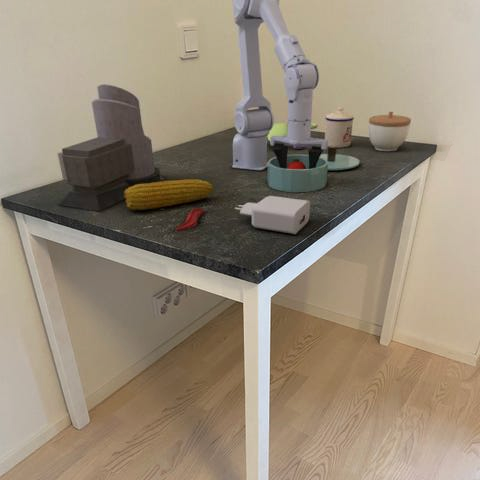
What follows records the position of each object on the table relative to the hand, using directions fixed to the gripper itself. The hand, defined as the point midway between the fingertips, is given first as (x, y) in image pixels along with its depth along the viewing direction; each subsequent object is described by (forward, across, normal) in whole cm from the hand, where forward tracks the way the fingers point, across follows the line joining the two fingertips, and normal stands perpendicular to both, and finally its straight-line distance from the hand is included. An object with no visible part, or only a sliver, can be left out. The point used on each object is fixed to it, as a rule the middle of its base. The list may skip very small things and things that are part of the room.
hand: (297, 175), depth 124 cm
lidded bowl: (+2, +14, +46) cm, 48 cm away
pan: (+2, 0, 0) cm, 2 cm away
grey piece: (+2, -41, -22) cm, 47 cm away
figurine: (+2, -20, +43) cm, 47 cm away
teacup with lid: (+2, -2, +47) cm, 47 cm away
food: (+2, -22, -27) cm, 35 cm away
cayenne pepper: (+2, -12, -34) cm, 36 cm away
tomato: (-1, 0, 0) cm, 1 cm away
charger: (+2, +4, -29) cm, 29 cm away
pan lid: (+2, +3, +21) cm, 21 cm away
